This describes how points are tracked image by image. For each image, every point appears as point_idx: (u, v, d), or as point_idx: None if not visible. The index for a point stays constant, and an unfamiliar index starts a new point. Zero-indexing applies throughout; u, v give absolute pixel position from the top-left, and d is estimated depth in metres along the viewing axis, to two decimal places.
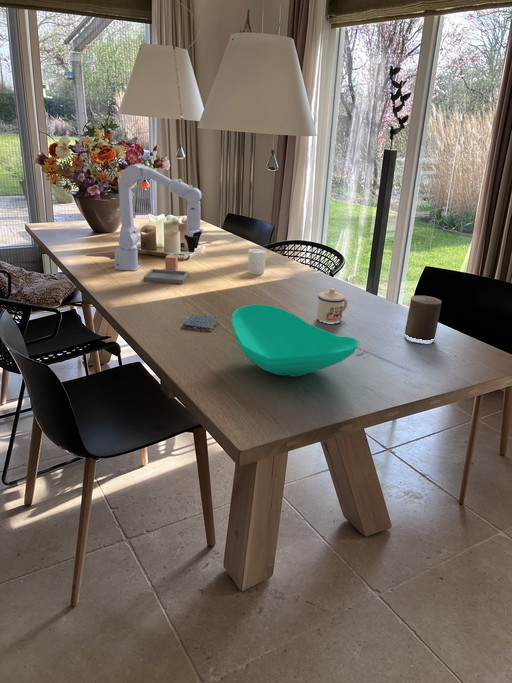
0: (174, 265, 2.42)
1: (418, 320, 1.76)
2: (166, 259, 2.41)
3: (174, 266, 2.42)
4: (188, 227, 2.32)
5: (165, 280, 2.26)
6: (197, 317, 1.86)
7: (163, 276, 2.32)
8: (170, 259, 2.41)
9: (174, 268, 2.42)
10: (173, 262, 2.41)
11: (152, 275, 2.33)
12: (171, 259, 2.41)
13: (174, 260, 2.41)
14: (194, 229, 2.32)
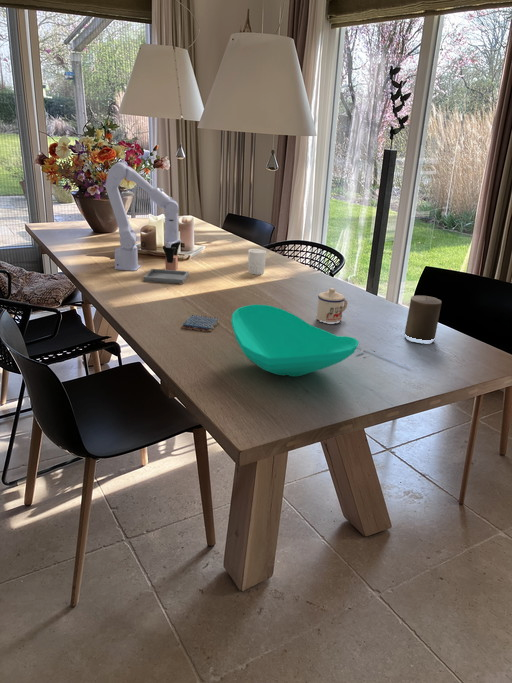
0: (174, 265, 2.42)
1: (418, 320, 1.76)
2: (166, 259, 2.41)
3: (174, 266, 2.42)
4: (166, 238, 2.38)
5: (165, 280, 2.26)
6: (197, 317, 1.86)
7: (163, 276, 2.32)
8: None
9: (174, 268, 2.42)
10: (173, 262, 2.41)
11: (152, 275, 2.33)
12: None
13: (174, 260, 2.41)
14: (172, 240, 2.37)
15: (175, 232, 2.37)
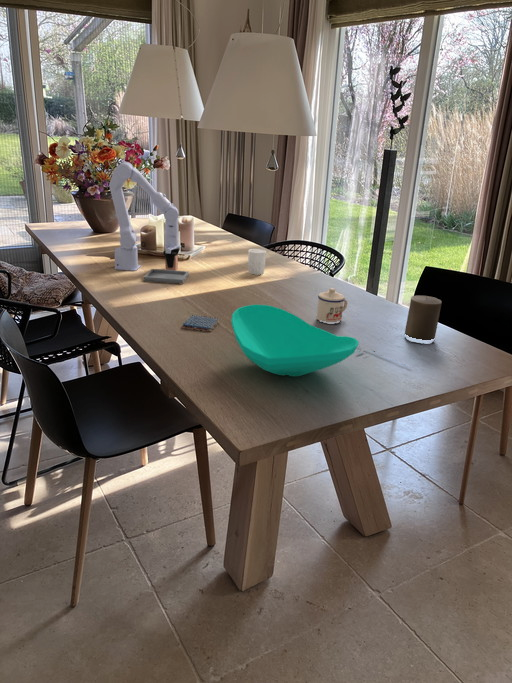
0: (174, 265, 2.42)
1: (418, 320, 1.76)
2: None
3: (174, 266, 2.42)
4: (166, 244, 2.39)
5: (165, 280, 2.26)
6: (197, 317, 1.86)
7: (163, 276, 2.32)
8: None
9: (174, 268, 2.42)
10: None
11: (152, 275, 2.33)
12: None
13: (174, 260, 2.41)
14: (172, 246, 2.38)
15: (175, 238, 2.38)
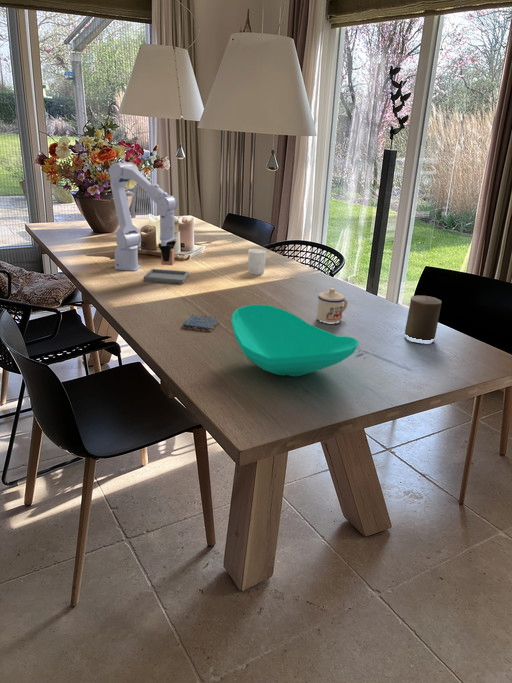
0: (170, 259, 2.28)
1: (418, 320, 1.76)
2: None
3: (170, 260, 2.28)
4: (161, 236, 2.25)
5: (165, 280, 2.26)
6: (197, 317, 1.86)
7: (163, 276, 2.32)
8: None
9: (170, 262, 2.29)
10: None
11: (152, 275, 2.33)
12: None
13: (170, 253, 2.27)
14: (168, 238, 2.25)
15: (171, 230, 2.24)
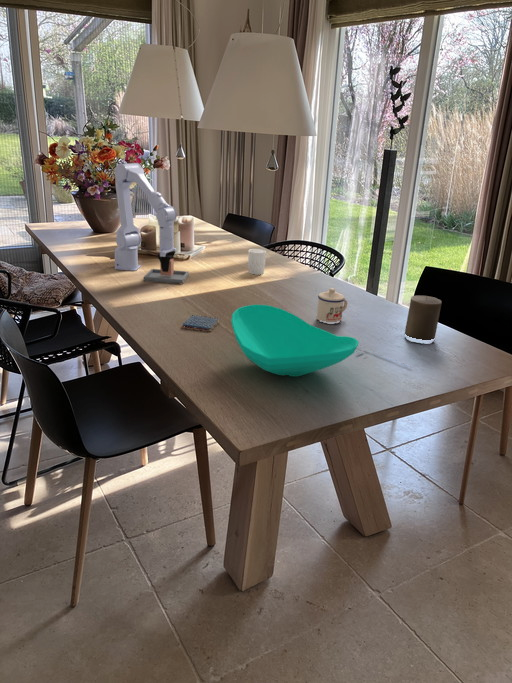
0: (170, 269, 2.28)
1: (418, 320, 1.76)
2: None
3: (170, 270, 2.28)
4: (161, 247, 2.25)
5: (165, 280, 2.26)
6: (197, 317, 1.86)
7: (163, 276, 2.32)
8: None
9: (170, 272, 2.29)
10: (169, 266, 2.28)
11: (152, 275, 2.33)
12: None
13: (170, 264, 2.27)
14: (167, 249, 2.25)
15: (170, 240, 2.24)
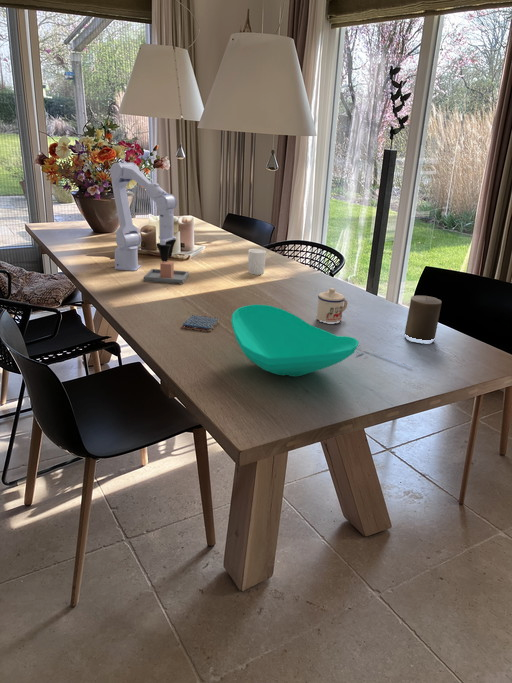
0: (169, 272, 2.29)
1: (418, 320, 1.76)
2: (161, 266, 2.28)
3: (169, 273, 2.29)
4: (161, 235, 2.23)
5: (165, 280, 2.26)
6: (197, 317, 1.86)
7: None
8: (165, 266, 2.28)
9: (169, 275, 2.29)
10: (168, 269, 2.28)
11: (152, 275, 2.33)
12: (166, 266, 2.28)
13: (169, 267, 2.28)
14: (167, 237, 2.23)
15: (170, 229, 2.22)
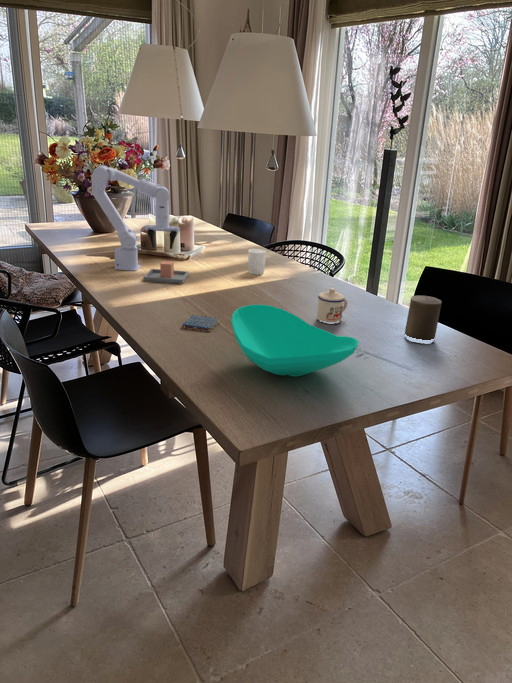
0: (169, 272, 2.29)
1: (418, 320, 1.76)
2: (161, 266, 2.28)
3: (169, 273, 2.29)
4: None
5: (165, 280, 2.26)
6: (197, 317, 1.86)
7: None
8: (165, 266, 2.28)
9: (169, 275, 2.29)
10: (168, 269, 2.28)
11: (152, 275, 2.33)
12: (166, 266, 2.28)
13: (169, 267, 2.28)
14: (155, 226, 2.37)
15: (156, 218, 2.35)
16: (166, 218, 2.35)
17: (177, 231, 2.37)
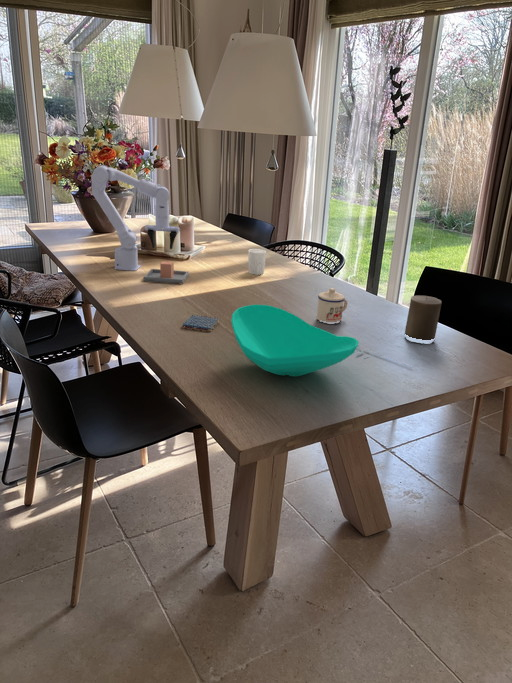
0: (169, 272, 2.29)
1: (418, 320, 1.76)
2: (161, 266, 2.28)
3: (169, 273, 2.29)
4: None
5: (165, 280, 2.26)
6: (197, 317, 1.86)
7: None
8: (165, 266, 2.28)
9: (169, 275, 2.29)
10: (168, 269, 2.28)
11: (152, 275, 2.33)
12: (166, 266, 2.28)
13: (169, 267, 2.28)
14: (155, 226, 2.37)
15: (156, 218, 2.35)
16: (166, 218, 2.35)
17: (177, 231, 2.37)
